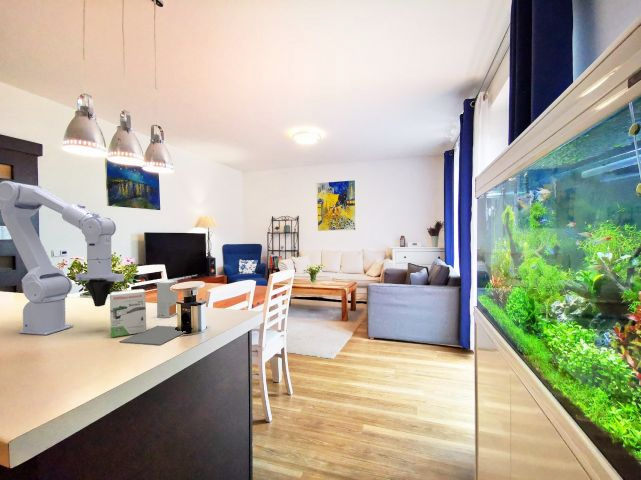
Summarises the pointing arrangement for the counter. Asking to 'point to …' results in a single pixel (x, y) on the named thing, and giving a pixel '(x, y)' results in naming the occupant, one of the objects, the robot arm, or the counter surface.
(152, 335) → the mat
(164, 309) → the skincare box
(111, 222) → the robot arm
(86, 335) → the counter surface
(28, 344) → the counter surface
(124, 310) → the ink box
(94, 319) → the counter surface
